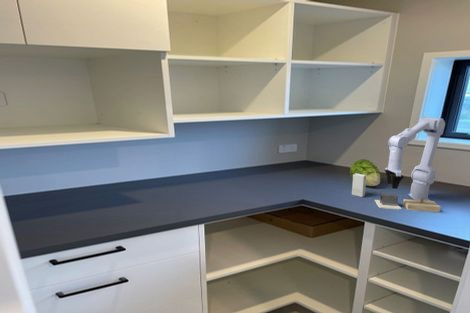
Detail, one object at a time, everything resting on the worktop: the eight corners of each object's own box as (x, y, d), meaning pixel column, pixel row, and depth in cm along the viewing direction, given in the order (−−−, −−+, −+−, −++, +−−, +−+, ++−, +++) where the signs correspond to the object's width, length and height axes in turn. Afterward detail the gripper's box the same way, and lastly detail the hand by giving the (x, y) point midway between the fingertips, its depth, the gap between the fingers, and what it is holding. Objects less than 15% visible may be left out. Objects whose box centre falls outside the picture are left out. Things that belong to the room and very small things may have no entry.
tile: (374, 200, 153) (374, 199, 153) (394, 202, 151) (394, 201, 151) (379, 207, 144) (379, 206, 143) (401, 209, 141) (401, 208, 141)
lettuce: (358, 193, 172) (369, 172, 164) (341, 173, 189) (351, 154, 182) (380, 195, 176) (392, 175, 169) (362, 175, 193) (372, 156, 186)
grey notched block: (379, 202, 150) (380, 192, 149) (394, 203, 148) (395, 194, 147) (381, 204, 146) (383, 195, 145) (396, 206, 144) (398, 196, 143)
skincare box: (365, 195, 161) (367, 174, 158) (362, 197, 158) (364, 176, 155) (354, 193, 165) (356, 172, 162) (350, 194, 162) (353, 174, 159)
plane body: (402, 204, 148) (404, 194, 147) (432, 206, 145) (434, 196, 144) (407, 209, 141) (409, 199, 140) (439, 212, 138) (441, 201, 137)
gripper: (382, 156, 150) (379, 181, 153) (391, 163, 136) (387, 190, 139) (397, 157, 148) (394, 182, 151) (407, 163, 134) (403, 191, 137)
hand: (392, 186), depth 145 cm, fingers open, 7 cm apart
